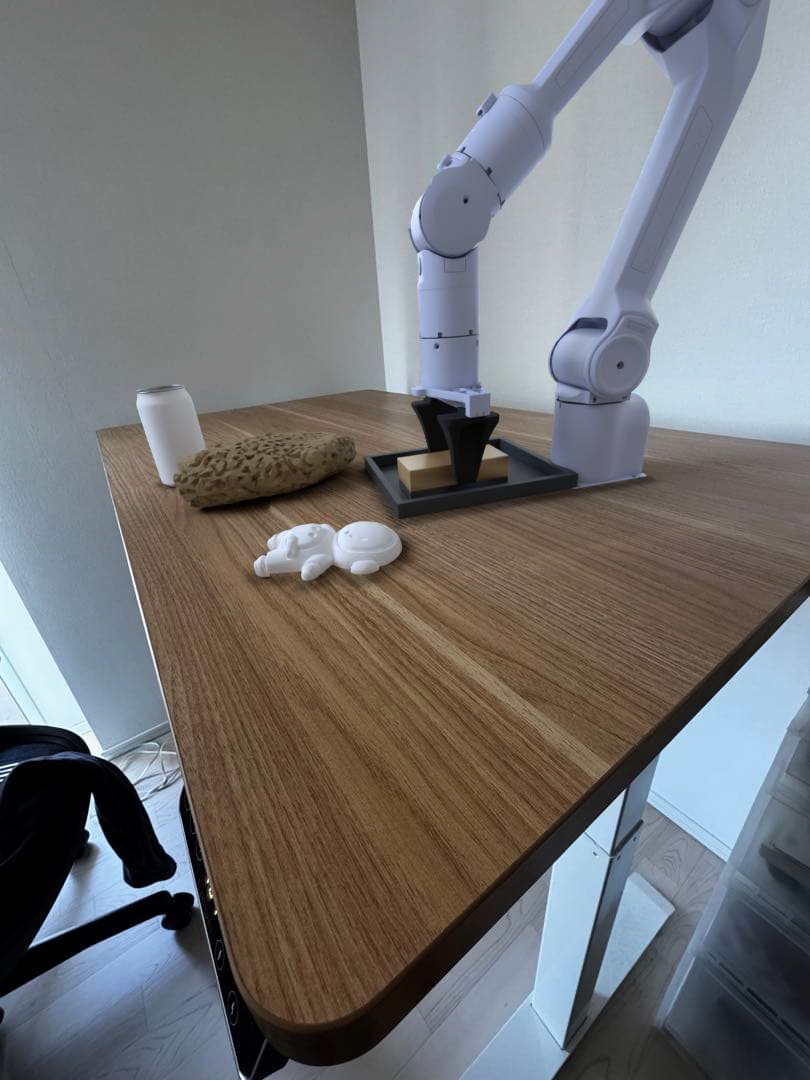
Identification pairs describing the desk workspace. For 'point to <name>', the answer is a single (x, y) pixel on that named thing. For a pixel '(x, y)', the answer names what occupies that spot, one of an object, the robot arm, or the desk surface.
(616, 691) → the desk surface
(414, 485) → the eraser
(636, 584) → the desk surface
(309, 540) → the astronaut figurine
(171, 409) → the can
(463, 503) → the tray
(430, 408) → the robot arm
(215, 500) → the sponge
